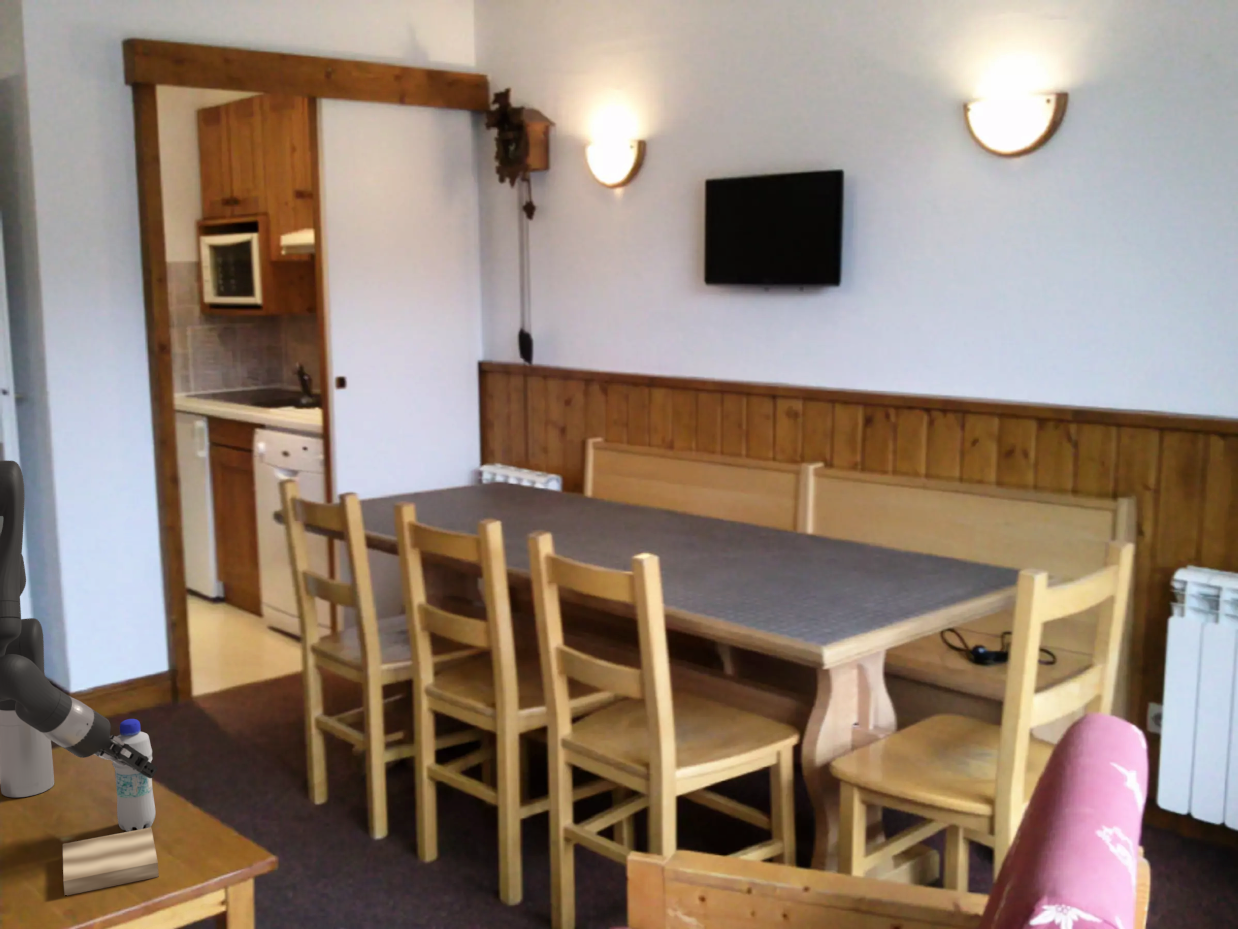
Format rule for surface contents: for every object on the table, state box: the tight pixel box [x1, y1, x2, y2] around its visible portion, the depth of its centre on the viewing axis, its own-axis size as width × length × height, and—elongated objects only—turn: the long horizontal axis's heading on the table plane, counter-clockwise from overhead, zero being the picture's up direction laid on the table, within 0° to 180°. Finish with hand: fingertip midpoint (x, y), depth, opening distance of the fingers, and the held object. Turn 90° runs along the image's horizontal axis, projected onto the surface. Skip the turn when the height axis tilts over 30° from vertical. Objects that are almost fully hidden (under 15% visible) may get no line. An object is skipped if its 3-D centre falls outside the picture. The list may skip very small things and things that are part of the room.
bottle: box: [111, 718, 156, 832], centre depth 213 cm, size 7×7×20 cm
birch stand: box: [62, 827, 160, 896], centre depth 200 cm, size 14×14×2 cm
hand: (140, 768), depth 214 cm, fingers open, 7 cm apart
